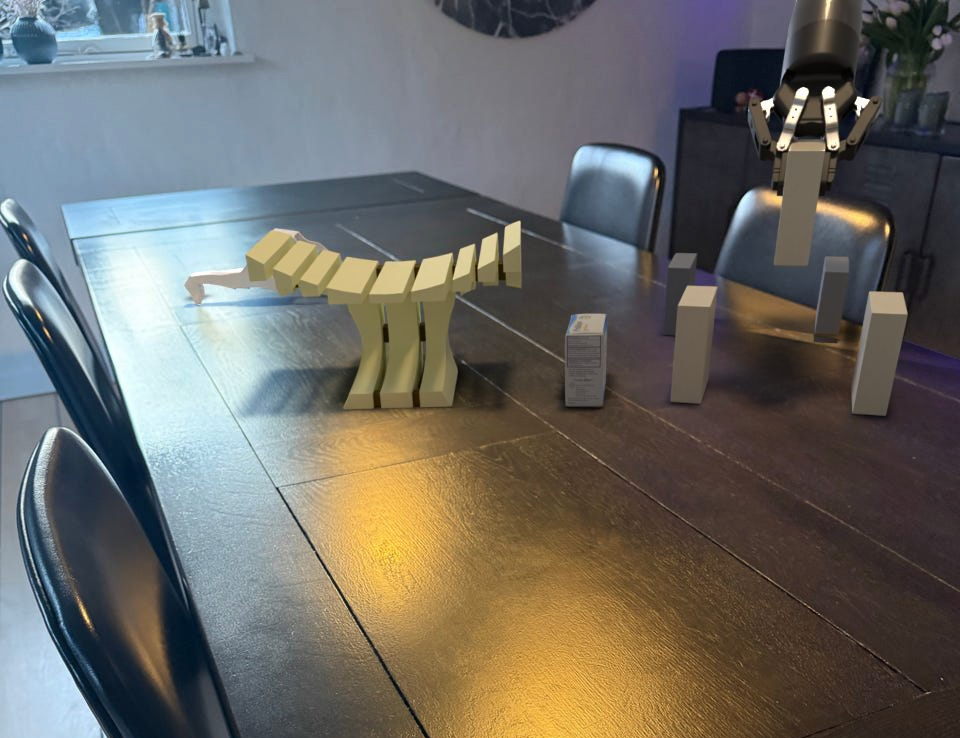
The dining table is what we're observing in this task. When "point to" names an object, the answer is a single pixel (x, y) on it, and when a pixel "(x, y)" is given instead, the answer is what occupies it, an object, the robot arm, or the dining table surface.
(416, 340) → the slatted curved stool
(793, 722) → the dining table surface
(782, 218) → the beige rectangular block
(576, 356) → the medicine box
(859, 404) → the cream blocks
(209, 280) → the horse figurine
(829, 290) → the grey blocks
